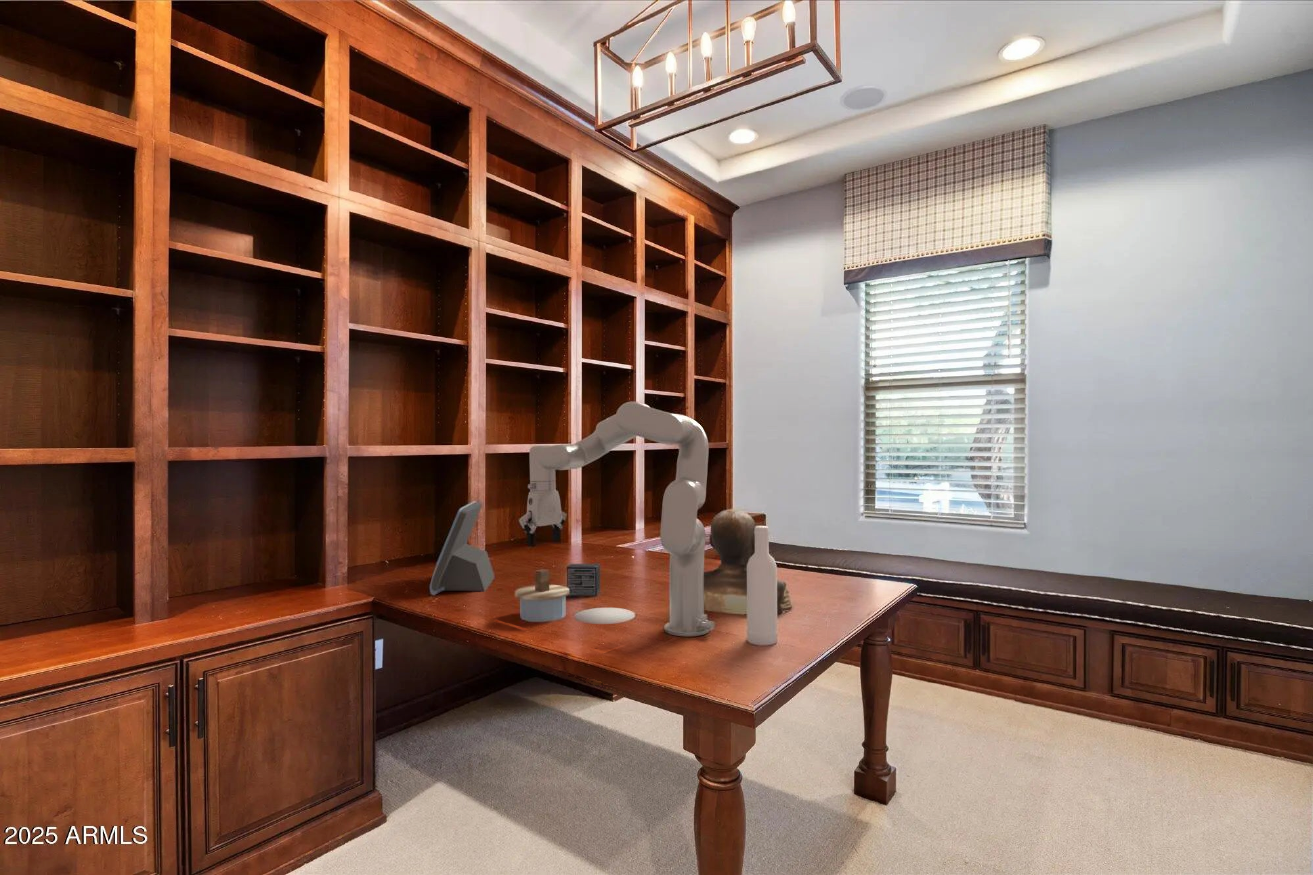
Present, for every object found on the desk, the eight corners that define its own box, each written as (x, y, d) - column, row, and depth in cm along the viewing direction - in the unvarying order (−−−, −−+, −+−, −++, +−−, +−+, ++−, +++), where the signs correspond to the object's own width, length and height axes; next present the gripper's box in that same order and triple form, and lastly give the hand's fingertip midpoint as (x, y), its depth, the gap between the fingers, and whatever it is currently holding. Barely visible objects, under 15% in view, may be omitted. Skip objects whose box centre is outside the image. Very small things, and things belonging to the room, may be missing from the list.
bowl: (574, 616, 193) (574, 593, 193) (540, 626, 183) (539, 601, 183) (545, 609, 201) (545, 587, 201) (511, 618, 191) (511, 594, 191)
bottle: (756, 634, 174) (756, 523, 175) (782, 640, 169) (782, 526, 170) (741, 641, 168) (740, 526, 168) (767, 647, 163) (767, 529, 163)
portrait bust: (780, 619, 189) (779, 514, 189) (672, 606, 205) (672, 509, 205) (798, 603, 208) (797, 508, 208) (698, 592, 224) (697, 503, 224)
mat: (647, 616, 193) (647, 614, 193) (605, 629, 179) (605, 627, 179) (604, 606, 205) (604, 604, 205) (561, 618, 191) (561, 616, 191)
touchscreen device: (446, 575, 254) (448, 499, 255) (496, 575, 256) (499, 500, 257) (424, 596, 219) (427, 508, 220) (482, 596, 222) (485, 509, 222)
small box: (600, 593, 222) (600, 563, 222) (597, 598, 216) (597, 566, 216) (570, 593, 223) (570, 562, 224) (566, 597, 217) (566, 566, 217)
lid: (580, 593, 193) (580, 569, 193) (538, 603, 181) (538, 578, 181) (545, 585, 204) (545, 563, 204) (503, 594, 191) (503, 571, 191)
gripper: (527, 489, 183) (529, 549, 183) (573, 485, 196) (574, 541, 196) (511, 488, 188) (512, 547, 188) (556, 484, 201) (558, 539, 201)
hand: (544, 544), depth 192 cm, fingers open, 9 cm apart
